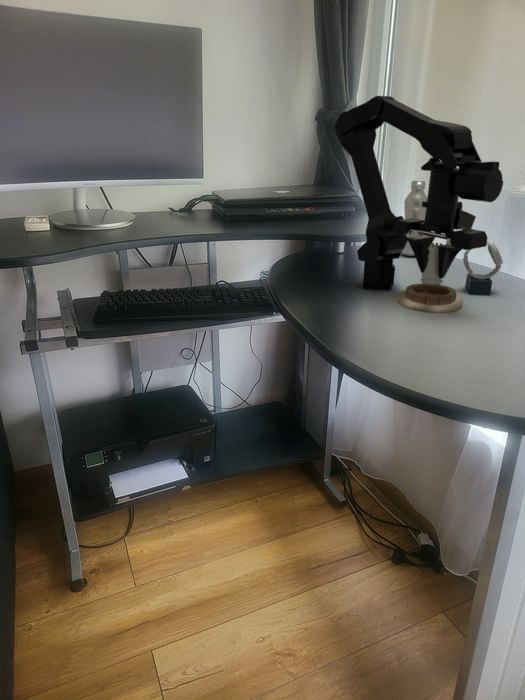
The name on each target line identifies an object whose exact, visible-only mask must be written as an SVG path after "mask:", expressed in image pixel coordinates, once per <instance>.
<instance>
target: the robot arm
mask: <svg viewBox="0 0 525 700" xmlns="http://www.w3.org/2000/svg"><path fill="white" fill-rule="evenodd" d="M384 123H386V124H388V125H390V126H392V127H394V128H396V129H398V130H399V131H401V132H403V133H404V134H406V135H408V136H410V137H412V138H414V139H415V140H417V141H418V143H419V144H420V146H421V148H422V150H423V151H425V152H426V153H427V154H428V155H429V156H430V158H429V160H428V161H426V163H423V165H422V166H421V167H420V169H421V170H422V171H427V172H430V174H429V179H428V180H429V181H428V190H427V195H426V196H427V201H423V202H422V207H426V213H425V220H420V219H415V218H410V219H405V217H403V216H402V215H400V216H399V215H398V216H396V215H395V214H394V213H393V212H392V210H391V208H390V203H389V199H388V196H387V193H386V189H385V186H384V181H383V179H382V175H381V171H380V168H379V165H378V160H377V157H376V154H375V153H376V152H375V149H374V147H375V143H376V138H377V129H379V128H380V127H382V126H383V125H384ZM334 132H335V135H336V138H337V139H338V142H339V144H340V146H341V147H342V148H343V150H344V151H346V153H348V155H349V156H350V157H351V161H352V164H353V166H354V171H355V175H356V178H357V182H358V186H359V188H360V193H361V195H362V196H361V197H362V199H363V204H364V207H365V210H366V215H367V217H368V218H367V219H368V221H367V225H366V228H365V237H366V241H365V242H364V243H363V244H362V245H361V246H360V247H359V248H358V249H357V250H356V254H357V258H358V261H360V262H364V264H363V265H364V266H363V275H362V276H363V278H362V284H361V289H365V290H366V289H368V290H369V289H370V290H387V291H388V290H390V291H391V290H392V286H393V285H394V283H395V273H396V265H395V264H394V260H395V259H396V260H397V259H400V257H401V255H402V254H401V252H402V250H403V249H404V248H405V245H406V244H407V241H408V242H409V244H410V246H411V248H412V250H413V252H414V255H415V256H414V257H415V259H416V262H417V265H418V268H419V271H420V273H421V274H422V273H423V272H424V270H425V269H426V267H427V263H428V258H429V257H428V255H429V250H428V249H427V248H428V247H429V246H430V243H434V240H435V239H436V238H437V239H442V240H446V241H445V244H443V245H441V246H439V247H438V255H439V258H438V271H439V278H442V279H443V278H445V276H446V275H447V273H448V271H449V270H450V267H451V265H452V263H453V262H454V260H455V258H456V257H457V255H458V254H459V253H460V252H461V251H462V250H464V251H466V250H470V249H471V250H475V249H479V248H480V249H481V248H486V247H487V245H486V244H487V241H488V235H487V233H486V231H483V230H479V229H473V226H474V223H475V221H476V218H477V217H476V215H474V214H472V213H470V212H468V211H465V210H463V202H462V201H459V198H460V199H461V200H467V201H468V200H469V201H476V202H485V203H493V202H494V201H496V200H497V199H498V197H499V196H500V195H501V192H502V190H503V186H504V180H503V174H502V171H501V170H500V162H499V161H482V159H481V157H480V155H479V152H478V150H477V148H476V146H475V144H474V141H473V136H472V130H471V129H470V128H469V127H468V126H466V125H462V124H458V123H454V122H449V121H441V120H437V119H434V118H432V117H430V116H427V115H426V114H424V113H422V112H420V111H418V110H416V109H414V108H412V107H410V106H408V105H407V104H404V103H402V102H400V101H398V100H397V99H395V98H394V97H393V96H391V95H376V96H374V97H371V98H370V99H369V100H367V101H366V102H364V103H362V104H359V105H356V106H355V107H353V108H351V109H349V110H348V111H343V112H341V113H340V114H339V115H338V117H337V120H336V121H335V124H334ZM408 231H409V237H408V238H407V235H406V234H408ZM471 250H470V251H471Z"/></svg>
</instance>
